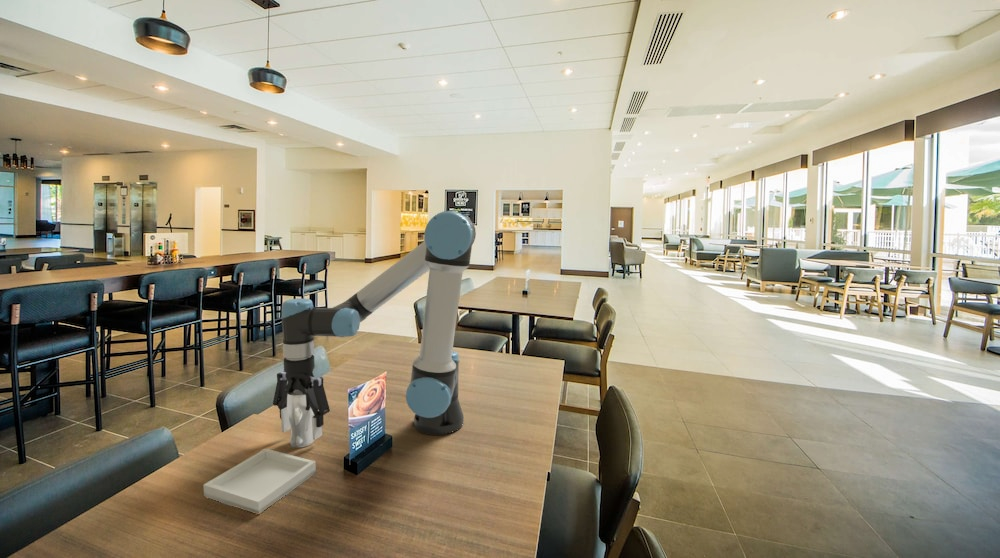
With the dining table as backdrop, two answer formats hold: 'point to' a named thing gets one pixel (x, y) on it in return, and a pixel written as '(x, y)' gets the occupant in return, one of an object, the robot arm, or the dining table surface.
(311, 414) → the beer glass
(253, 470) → the tray
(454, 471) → the dining table surface
